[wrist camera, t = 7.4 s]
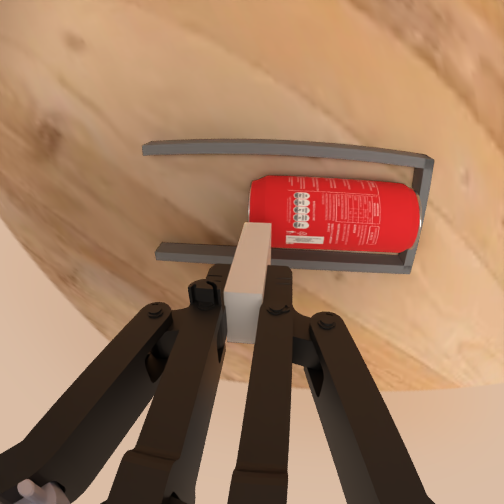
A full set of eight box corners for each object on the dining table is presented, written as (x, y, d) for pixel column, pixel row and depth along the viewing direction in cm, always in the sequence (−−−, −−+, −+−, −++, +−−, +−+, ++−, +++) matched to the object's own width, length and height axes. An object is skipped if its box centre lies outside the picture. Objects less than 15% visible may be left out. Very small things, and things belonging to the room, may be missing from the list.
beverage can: (250, 161, 21) (418, 172, 20) (256, 193, 26) (396, 200, 25) (245, 234, 20) (426, 242, 19) (252, 254, 25) (401, 260, 24)
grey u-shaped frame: (162, 250, 29) (156, 260, 27) (151, 141, 24) (142, 145, 22) (404, 263, 27) (409, 274, 25) (425, 154, 22) (434, 160, 20)
